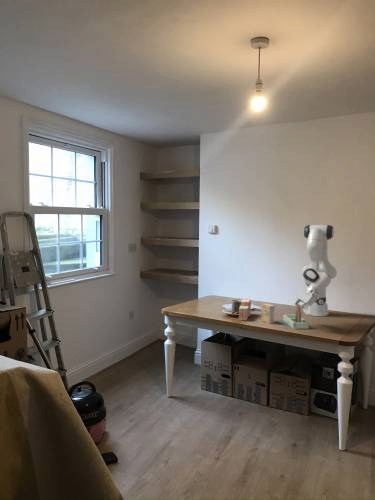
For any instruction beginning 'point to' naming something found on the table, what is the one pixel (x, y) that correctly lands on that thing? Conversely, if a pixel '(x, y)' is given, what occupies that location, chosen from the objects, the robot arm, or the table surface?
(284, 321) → the mat
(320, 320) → the table surface
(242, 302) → the stack of blocks
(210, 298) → the table surface
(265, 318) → the supplement box
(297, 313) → the tan wooden tall piece
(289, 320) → the rack
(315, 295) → the robot arm
